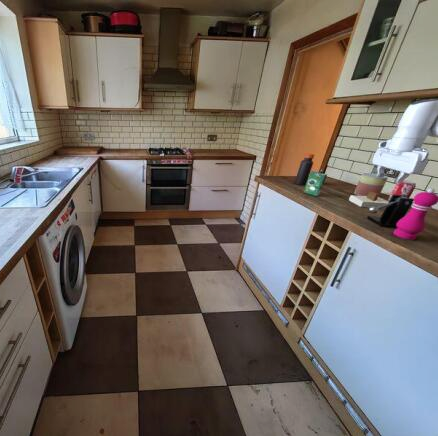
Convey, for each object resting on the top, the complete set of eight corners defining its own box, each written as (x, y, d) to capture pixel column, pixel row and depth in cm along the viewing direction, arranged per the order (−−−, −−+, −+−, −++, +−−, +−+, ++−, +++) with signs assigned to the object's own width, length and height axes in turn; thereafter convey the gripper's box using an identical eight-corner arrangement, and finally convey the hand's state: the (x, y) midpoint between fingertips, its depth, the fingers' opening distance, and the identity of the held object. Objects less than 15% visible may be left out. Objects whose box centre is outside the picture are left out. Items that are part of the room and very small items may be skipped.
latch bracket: (381, 226, 98) (396, 199, 93) (366, 218, 106) (379, 192, 101) (412, 229, 97) (429, 201, 91) (395, 220, 105) (410, 194, 99)
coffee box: (319, 196, 133) (327, 174, 127) (316, 196, 132) (324, 174, 126) (305, 191, 140) (313, 170, 134) (302, 192, 138) (310, 171, 133)
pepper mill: (386, 231, 95) (412, 185, 86) (404, 232, 94) (431, 185, 86) (403, 240, 88) (433, 191, 79) (422, 241, 88) (454, 192, 79)
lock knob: (366, 197, 124) (369, 190, 122) (369, 197, 124) (372, 191, 122) (372, 200, 119) (376, 194, 118) (376, 200, 119) (379, 194, 117)
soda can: (393, 206, 121) (405, 183, 115) (382, 201, 127) (394, 179, 122) (408, 207, 120) (421, 184, 114) (397, 202, 126) (409, 180, 121)
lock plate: (376, 202, 126) (378, 196, 125) (390, 209, 117) (393, 203, 116) (348, 200, 128) (350, 194, 127) (360, 206, 119) (363, 201, 118)
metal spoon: (372, 215, 100) (370, 209, 99) (367, 212, 103) (365, 206, 102) (409, 203, 95) (408, 197, 94) (402, 201, 98) (401, 194, 97)
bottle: (292, 182, 158) (301, 153, 149) (301, 182, 158) (310, 153, 150) (299, 185, 152) (309, 155, 143) (308, 185, 152) (318, 155, 144)
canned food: (382, 199, 131) (392, 179, 126) (358, 196, 134) (367, 176, 129) (372, 193, 141) (381, 174, 135) (350, 190, 144) (358, 172, 139)
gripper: (441, 149, 79) (420, 187, 85) (392, 142, 98) (378, 174, 103) (420, 148, 80) (401, 186, 86) (376, 142, 98) (363, 173, 104)
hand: (388, 179), depth 95 cm, fingers open, 8 cm apart
